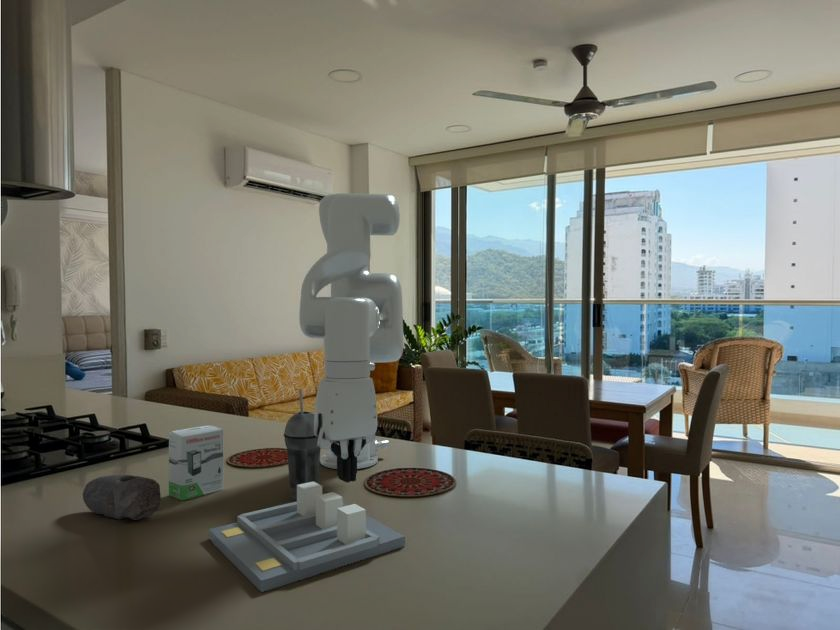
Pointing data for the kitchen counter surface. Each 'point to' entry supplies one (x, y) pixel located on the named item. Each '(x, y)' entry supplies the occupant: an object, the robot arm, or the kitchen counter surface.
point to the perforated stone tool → (122, 496)
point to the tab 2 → (327, 509)
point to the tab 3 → (351, 523)
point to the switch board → (294, 545)
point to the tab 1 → (307, 497)
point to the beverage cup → (301, 449)
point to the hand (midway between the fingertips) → (347, 479)
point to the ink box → (195, 462)
